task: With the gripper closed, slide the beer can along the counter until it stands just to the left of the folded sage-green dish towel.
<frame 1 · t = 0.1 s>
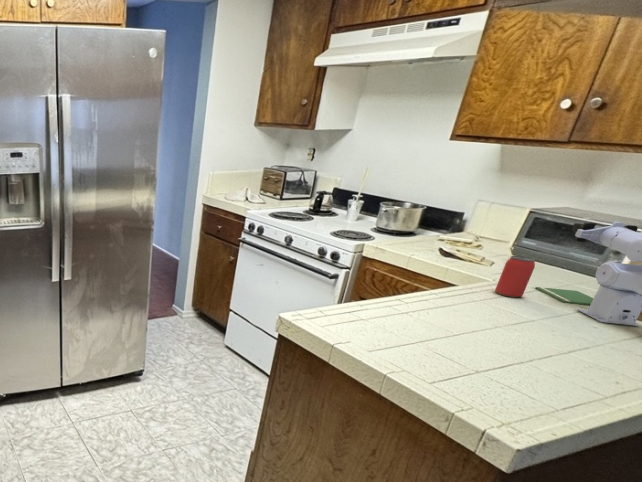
hand: (590, 227, 140), 22 cm above the counter, tool horizontal, fingers open, 7 cm apart
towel: (570, 297, 147), on the counter
beer can: (507, 295, 148), on the counter
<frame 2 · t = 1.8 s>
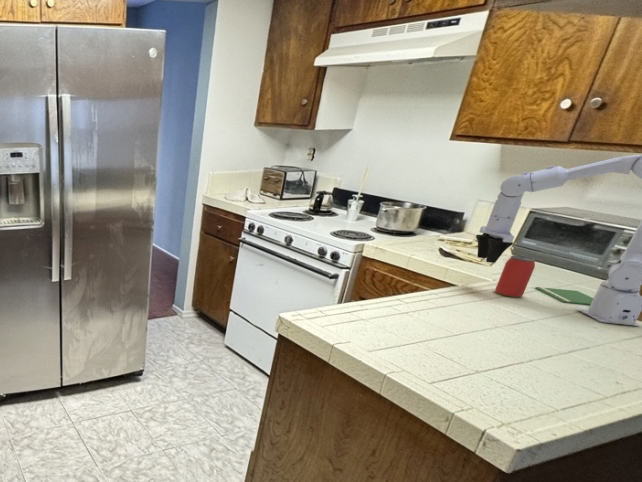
hand: (486, 260, 147), 10 cm above the counter, tool pointing down, fingers open, 5 cm apart
nothing on the counter moved.
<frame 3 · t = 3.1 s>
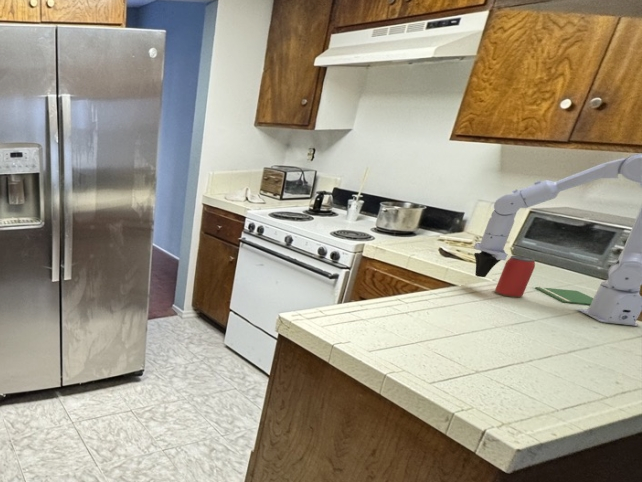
hand: (480, 276, 149), 5 cm above the counter, tool pointing down, fingers closed
nothing on the counter moved.
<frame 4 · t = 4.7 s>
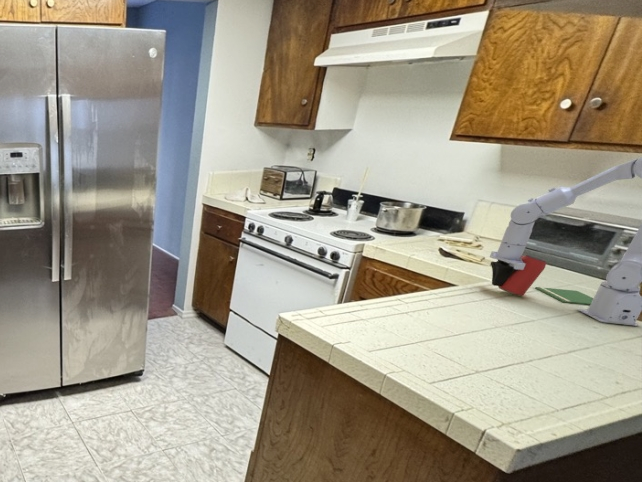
hand: (496, 285, 148), 3 cm above the counter, tool pointing down, fingers closed, pressing on beer can
beer can: (509, 292, 148), point 1 cm above the counter, touching gripper
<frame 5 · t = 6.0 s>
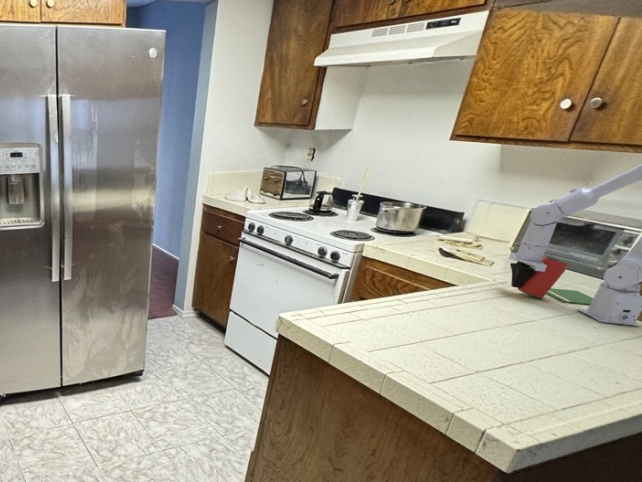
hand: (516, 286, 147), 3 cm above the counter, tool pointing down, fingers closed, pressing on beer can
beer can: (528, 294, 146), point 1 cm above the counter, touching gripper
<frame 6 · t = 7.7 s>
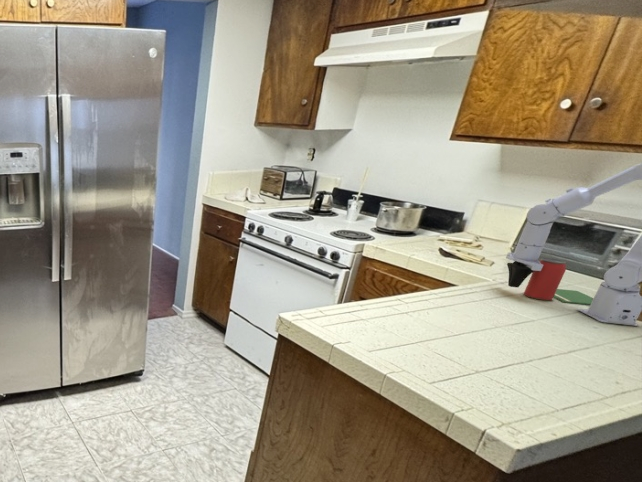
hand: (513, 286, 147), 3 cm above the counter, tool pointing down, fingers closed
beer can: (537, 297, 146), on the counter
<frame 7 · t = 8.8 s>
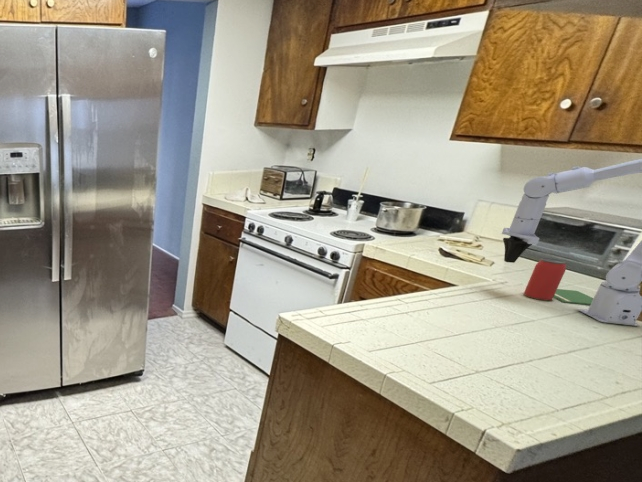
hand: (509, 261, 145), 10 cm above the counter, tool pointing down, fingers closed
nothing on the counter moved.
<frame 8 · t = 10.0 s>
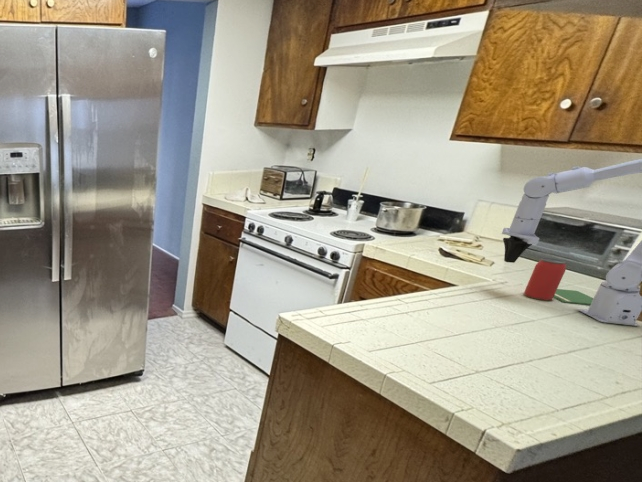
hand: (509, 261, 145), 10 cm above the counter, tool pointing down, fingers closed
nothing on the counter moved.
at the end: beer can inside the target area (0.2 cm from its centre), on the counter; beer can tilted 0°; beer can moved 7.6 cm from its start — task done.
